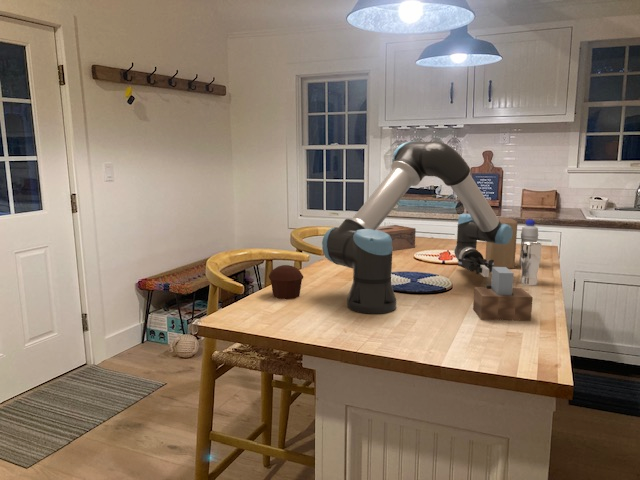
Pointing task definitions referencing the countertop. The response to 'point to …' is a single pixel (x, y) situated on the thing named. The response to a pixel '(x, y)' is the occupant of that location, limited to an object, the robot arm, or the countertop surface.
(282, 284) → the muffin
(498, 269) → the peg
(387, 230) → the tissue box cover
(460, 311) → the countertop surface
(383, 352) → the countertop surface
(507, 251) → the wooden block
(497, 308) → the socket block
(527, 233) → the bottle
